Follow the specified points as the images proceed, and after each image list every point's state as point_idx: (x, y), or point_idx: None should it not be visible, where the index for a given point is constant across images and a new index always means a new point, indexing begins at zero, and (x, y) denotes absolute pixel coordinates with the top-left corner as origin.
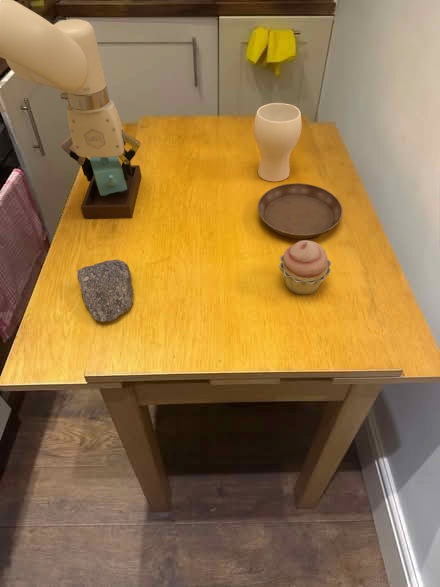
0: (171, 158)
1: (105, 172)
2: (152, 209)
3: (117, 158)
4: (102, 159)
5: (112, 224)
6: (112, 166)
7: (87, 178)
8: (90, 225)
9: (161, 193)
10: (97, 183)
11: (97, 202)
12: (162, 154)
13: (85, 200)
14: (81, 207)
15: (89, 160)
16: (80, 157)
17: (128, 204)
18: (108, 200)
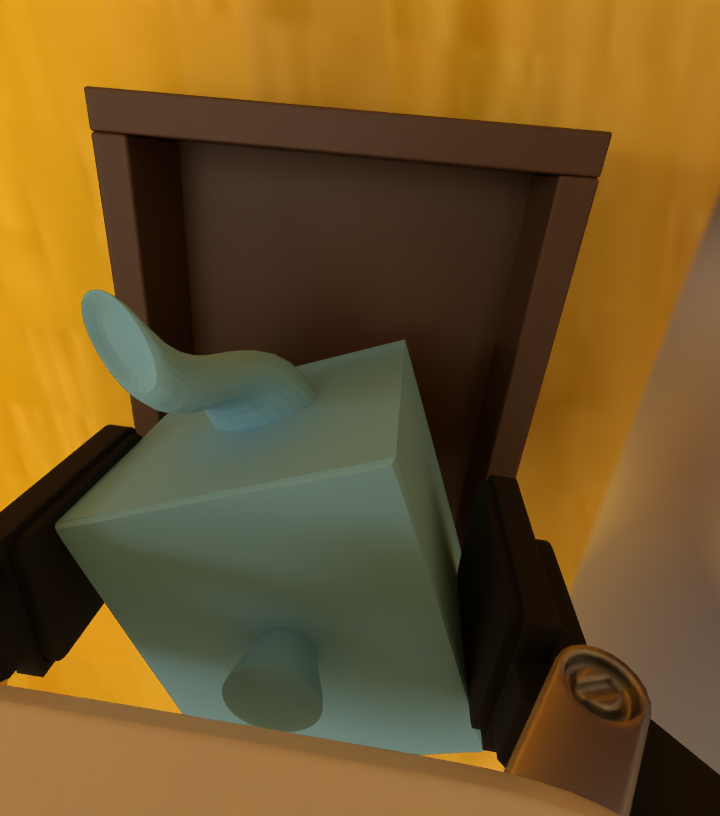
0: (80, 670)
1: (254, 480)
2: (32, 213)
3: (170, 686)
4: (289, 691)
5: (309, 19)
6: (182, 571)
7: (514, 496)
8: (513, 24)
9: (32, 394)
10: (398, 394)
11: (451, 339)
12: (134, 704)
13: (548, 265)
14: (600, 131)
15: (473, 713)
16: (611, 788)
17: (101, 127)
18: None
